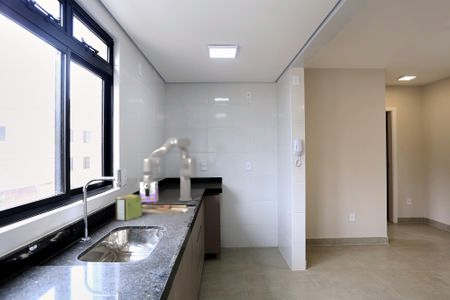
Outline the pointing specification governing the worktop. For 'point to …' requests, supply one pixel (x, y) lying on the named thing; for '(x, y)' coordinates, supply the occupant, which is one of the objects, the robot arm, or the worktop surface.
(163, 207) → the frame
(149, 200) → the candy box
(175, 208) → the pad
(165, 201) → the worktop surface
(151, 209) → the rail lane
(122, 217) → the protein box
